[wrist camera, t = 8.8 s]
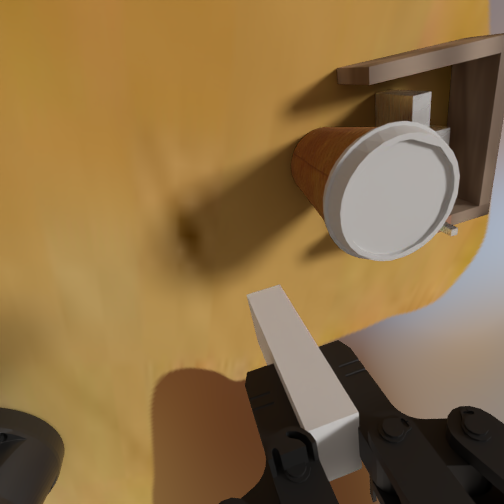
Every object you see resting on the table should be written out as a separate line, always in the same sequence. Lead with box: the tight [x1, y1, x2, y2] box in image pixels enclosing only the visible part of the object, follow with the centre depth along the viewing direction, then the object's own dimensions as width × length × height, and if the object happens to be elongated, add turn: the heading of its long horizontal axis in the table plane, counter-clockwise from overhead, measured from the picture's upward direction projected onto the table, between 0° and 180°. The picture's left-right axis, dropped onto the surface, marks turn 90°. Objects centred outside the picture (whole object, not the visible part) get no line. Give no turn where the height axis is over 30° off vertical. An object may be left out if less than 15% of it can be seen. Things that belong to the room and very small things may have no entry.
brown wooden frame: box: [337, 33, 504, 233], centre depth 31 cm, size 12×16×5 cm
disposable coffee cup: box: [291, 121, 460, 261], centre depth 27 cm, size 10×10×12 cm
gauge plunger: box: [375, 89, 458, 236], centre depth 30 cm, size 6×11×9 cm, turn 12°
